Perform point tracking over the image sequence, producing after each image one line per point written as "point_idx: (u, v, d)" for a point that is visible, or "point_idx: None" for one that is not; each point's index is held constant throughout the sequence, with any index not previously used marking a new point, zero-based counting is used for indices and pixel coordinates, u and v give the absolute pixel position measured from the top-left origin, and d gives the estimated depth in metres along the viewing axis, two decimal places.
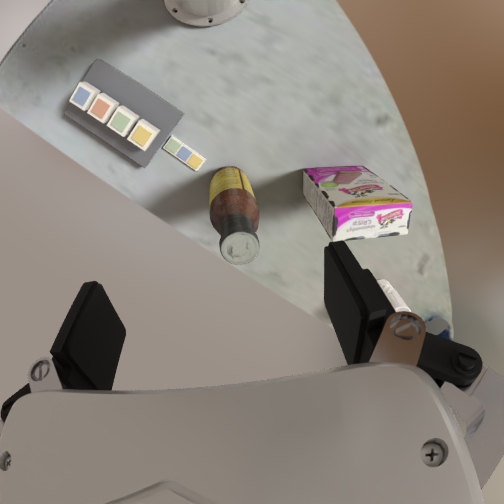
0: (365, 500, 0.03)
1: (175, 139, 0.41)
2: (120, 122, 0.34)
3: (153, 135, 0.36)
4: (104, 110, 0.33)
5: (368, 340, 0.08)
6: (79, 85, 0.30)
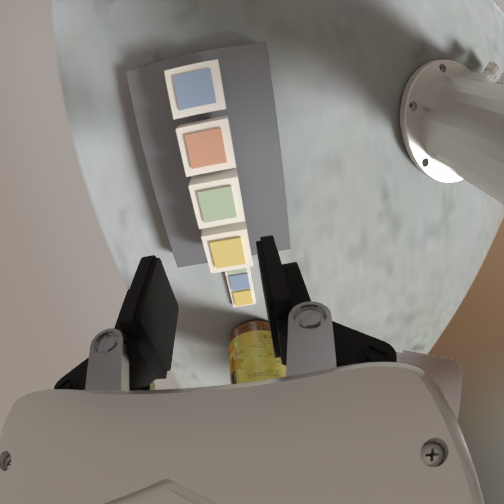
0: (365, 500, 0.03)
1: None
2: (215, 205, 0.19)
3: (244, 265, 0.22)
4: (209, 159, 0.17)
5: (278, 328, 0.09)
6: (210, 65, 0.14)
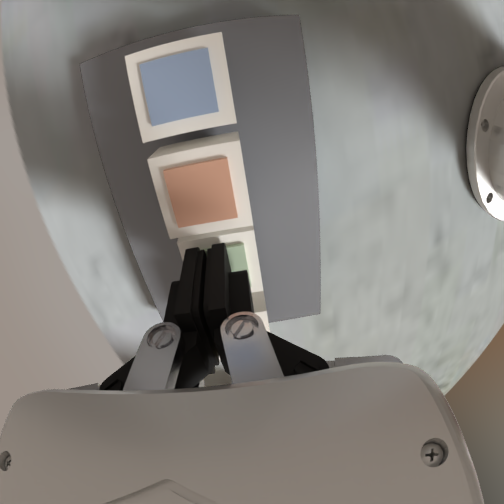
0: (365, 500, 0.03)
1: None
2: None
3: None
4: (208, 212, 0.10)
5: (215, 336, 0.09)
6: (208, 42, 0.07)
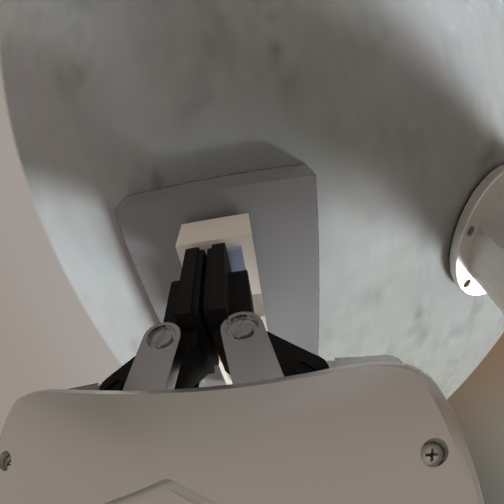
0: (365, 500, 0.03)
1: None
2: None
3: None
4: None
5: (215, 336, 0.09)
6: (241, 241, 0.12)
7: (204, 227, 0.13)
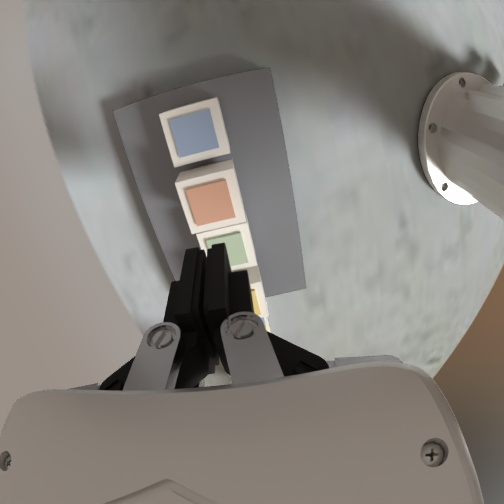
0: (365, 500, 0.03)
1: None
2: None
3: (259, 315, 0.20)
4: (216, 215, 0.16)
5: (215, 336, 0.09)
6: (209, 104, 0.14)
7: (182, 106, 0.15)
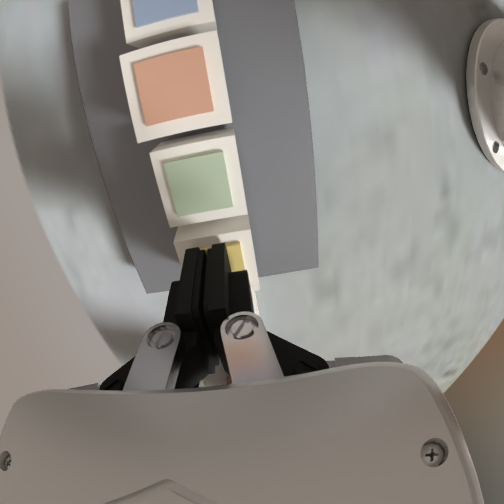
0: (365, 500, 0.03)
1: None
2: (196, 186, 0.11)
3: None
4: (180, 106, 0.08)
5: (215, 336, 0.09)
6: None
7: None
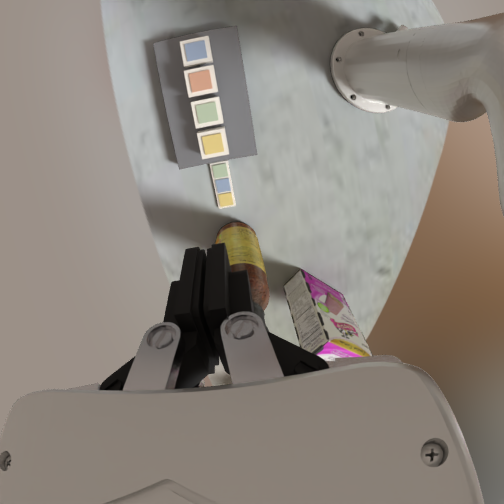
0: (365, 500, 0.03)
1: (227, 166, 0.38)
2: (206, 113, 0.30)
3: (223, 153, 0.33)
4: (202, 87, 0.27)
5: (215, 336, 0.09)
6: (204, 38, 0.25)
7: None
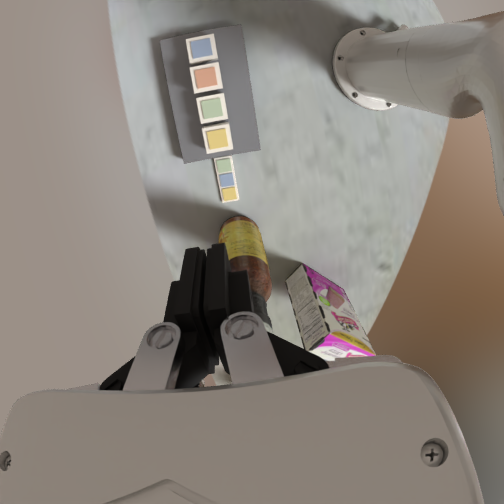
0: (365, 500, 0.03)
1: (231, 161, 0.38)
2: (211, 109, 0.31)
3: (227, 148, 0.33)
4: (208, 83, 0.28)
5: (215, 336, 0.09)
6: (210, 36, 0.26)
7: None
